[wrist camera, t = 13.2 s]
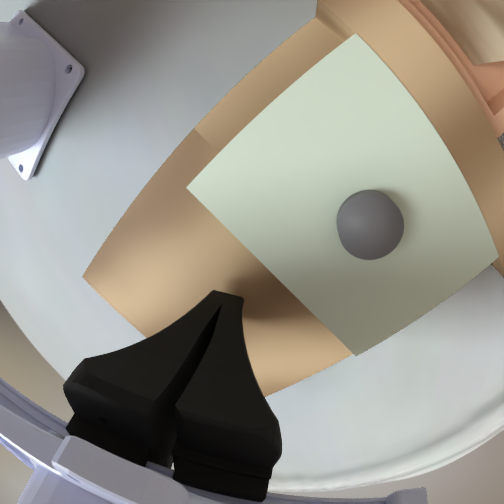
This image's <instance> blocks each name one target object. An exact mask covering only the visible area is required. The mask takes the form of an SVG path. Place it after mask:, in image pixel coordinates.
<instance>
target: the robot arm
mask: <svg viewBox="0 0 504 504" xmlns="http://www.w3.org/2000/svg"><path fill="white" fill-rule="evenodd" d="M71 67H72V71H71V72H70V69H71ZM84 72H85V71H84V67H83V66H82V65H81V64H80V63H79V62H78V61H77V60H76V59H75V58H74V57H73V56H71V55H70V54H69V53H68V52H67V51H66V50H65V49H64V48H63V47H62V46H61V45H60V44H59V43H58V42H57V41H56V40H54V39H53V38H52V37H51V36H50V35H49V34H48V33H47V32H46V31H45V30H44V29H43V28H42V27H41V26H39V25H38V24H37V23H36V22H35V21H34V20H33V19H32V18H31V17H30V16H29V15H28V14H26V13H25V12H24V11H22V10H19V11H17V12H16V13H15V14H14V16H13V18H12V20H11V21H10V22H0V159H3V158H6V157H7V158H8V159H9V161H10V162H11V163H12V165H13V166H14V168H15V169H16V170H17V172H18V173H19V174H20V176H21V177H22V178H23V179H24V180H25V181H28V180H30V179H32V177H33V175H34V172H35V170H36V167H37V165H38V162H39V160H40V158H41V155H42V153H43V151H44V149H45V147H46V144H47V142H48V140H49V138H50V136H51V134H52V132H53V130H54V128H55V126H56V124H57V122H58V120H59V118H60V116H61V114H62V113H63V111H64V109H65V107H66V105H67V104H68V102H69V100H70V98H71V97H72V95H73V93H74V92H75V90H76V88H77V87H78V85H79V83H80V82H81V80H82V79H83V76H84ZM243 304H244V299H243V297H240V296H236V295H232V294H228V293H224V292H220V291H216V290H212V291H211V292H210V293H209V294H208V295H207V296H206V297H205V298H204V299H202V300H201V301H200V302H199V303H198V304H197V305H196V306H194V307H193V308H192V309H191V310H190V311H188V312H187V313H186V314H185V315H183V316H182V317H181V318H179V319H178V320H176V321H175V322H173V323H172V324H171V325H169V326H168V327H166V328H164V329H163V330H161V331H159V332H158V333H156V334H154V335H152V336H150V337H148V338H146V339H144V340H142V341H140V342H138V343H136V344H133V345H131V346H128V347H126V348H123V349H120V350H117V351H114V352H111V353H107V354H103V355H99V356H95V357H90V358H85V359H84V360H83V361H82V362H81V363H80V364H79V365H78V366H77V367H76V368H75V370H74V371H73V372H72V374H71V375H70V377H69V378H68V379H67V381H66V382H65V383H64V385H63V390H64V393H65V396H66V398H67V400H68V402H69V404H70V406H71V407H72V409H73V411H74V415H73V417H72V419H71V420H70V422H69V423H67V422H65V421H63V420H61V419H60V418H58V417H57V416H55V415H53V414H52V413H50V412H48V411H47V410H45V409H44V408H42V407H41V406H39V405H37V404H36V403H34V402H33V401H31V400H30V399H29V398H27V397H26V396H24V395H23V394H21V393H20V392H19V391H17V390H16V389H15V388H13V387H12V386H11V385H9V384H8V383H7V382H5V381H4V380H3V379H1V378H0V443H1V444H2V445H3V446H4V447H5V448H6V449H8V450H9V451H10V452H11V453H12V454H14V455H15V456H16V457H17V458H19V459H20V460H21V461H22V462H24V463H25V464H26V465H28V466H29V467H30V468H32V469H33V470H34V472H33V474H32V476H31V478H30V480H29V481H28V483H27V485H26V487H25V489H24V490H23V492H22V494H21V496H20V498H19V500H18V502H17V504H428V501H427V491H426V488H424V487H422V488H414V489H404V490H399V491H396V492H393V493H391V494H390V495H388V496H387V497H383V498H360V499H359V498H354V499H346V498H345V499H344V498H343V499H342V498H341V499H340V498H317V497H316V498H315V497H303V496H293V495H284V494H276V493H269V492H267V489H268V484H269V479H271V475H272V469H273V467H274V465H275V464H276V463H277V461H278V460H279V459H280V457H281V454H282V438H281V432H280V427H279V422H278V419H277V418H276V416H275V415H274V413H273V412H272V410H271V408H270V407H269V405H268V403H267V401H266V399H265V397H264V395H263V393H262V391H261V389H260V387H259V384H258V382H257V380H256V377H255V375H254V372H253V369H252V366H251V363H250V360H249V356H248V353H247V348H246V343H245V338H244V331H243V322H242V309H243ZM172 463H174V470H172V469H171V467H172Z"/></svg>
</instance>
